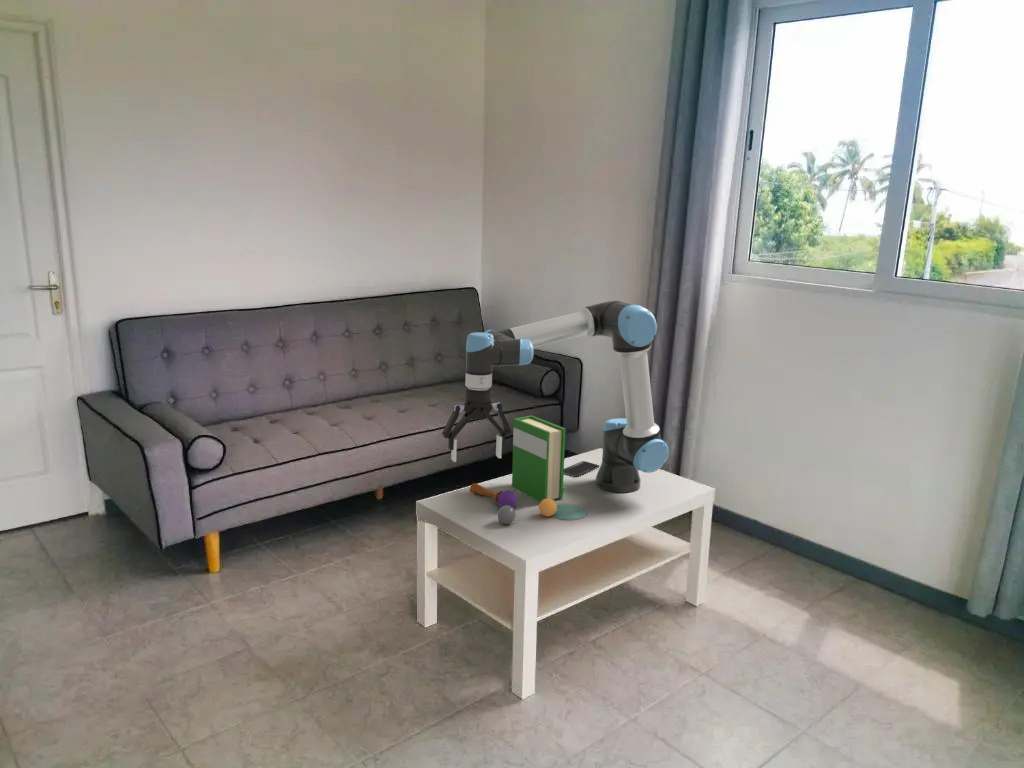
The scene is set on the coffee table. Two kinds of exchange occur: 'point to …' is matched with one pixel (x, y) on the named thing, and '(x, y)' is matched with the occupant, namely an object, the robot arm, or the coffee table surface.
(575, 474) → the phone
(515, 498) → the kendama
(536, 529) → the coffee table surface
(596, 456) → the coffee table surface
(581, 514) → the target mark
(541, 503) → the orange ball
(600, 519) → the coffee table surface
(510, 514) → the gray ball
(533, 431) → the hardback book
